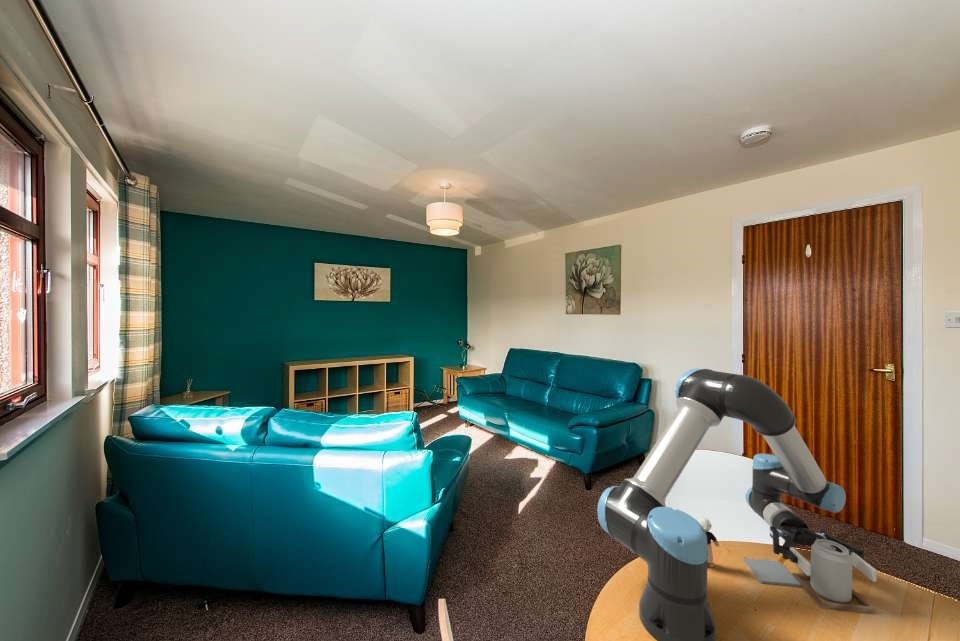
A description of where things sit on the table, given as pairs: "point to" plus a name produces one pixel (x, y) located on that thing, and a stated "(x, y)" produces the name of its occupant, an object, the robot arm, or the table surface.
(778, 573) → the coaster
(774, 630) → the table surface
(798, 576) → the brown square frame
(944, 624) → the table surface
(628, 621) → the table surface
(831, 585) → the can
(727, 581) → the table surface
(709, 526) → the grandmother figurine
